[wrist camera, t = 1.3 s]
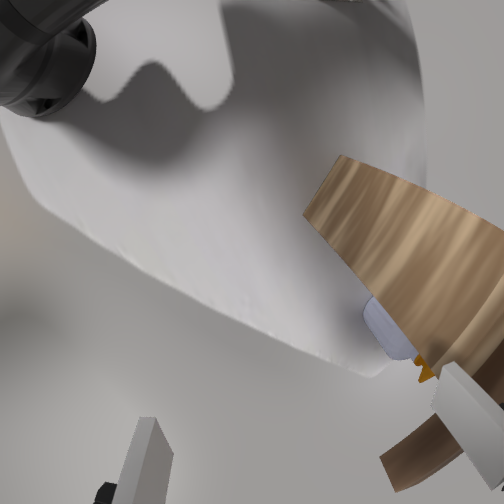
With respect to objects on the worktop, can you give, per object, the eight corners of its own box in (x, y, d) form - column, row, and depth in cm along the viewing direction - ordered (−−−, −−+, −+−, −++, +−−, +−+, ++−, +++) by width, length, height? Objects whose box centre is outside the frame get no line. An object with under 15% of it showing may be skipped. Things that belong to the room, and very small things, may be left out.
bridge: (302, 215, 40) (441, 384, 13) (340, 154, 37) (537, 253, 10) (360, 249, 44) (486, 389, 18) (394, 197, 41) (550, 304, 14)
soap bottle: (363, 294, 48) (439, 399, 27) (404, 280, 49) (485, 369, 27) (360, 330, 53) (421, 429, 31) (398, 316, 53) (465, 403, 31)
